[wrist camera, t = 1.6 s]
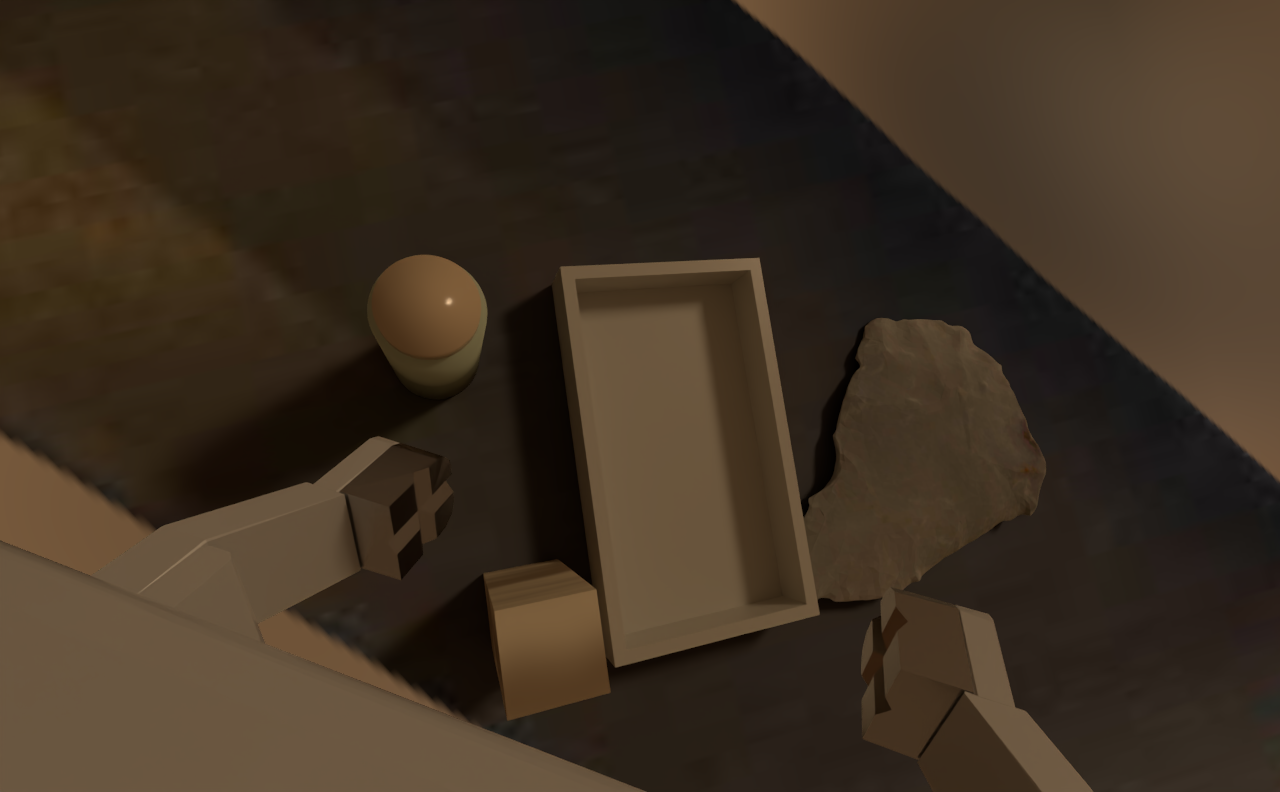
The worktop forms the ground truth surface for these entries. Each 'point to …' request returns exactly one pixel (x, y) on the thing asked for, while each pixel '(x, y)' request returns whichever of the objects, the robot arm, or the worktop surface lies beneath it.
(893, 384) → the stone tool
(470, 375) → the sage jar
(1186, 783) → the worktop surface
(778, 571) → the beige tray
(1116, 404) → the worktop surface
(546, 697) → the birch block
